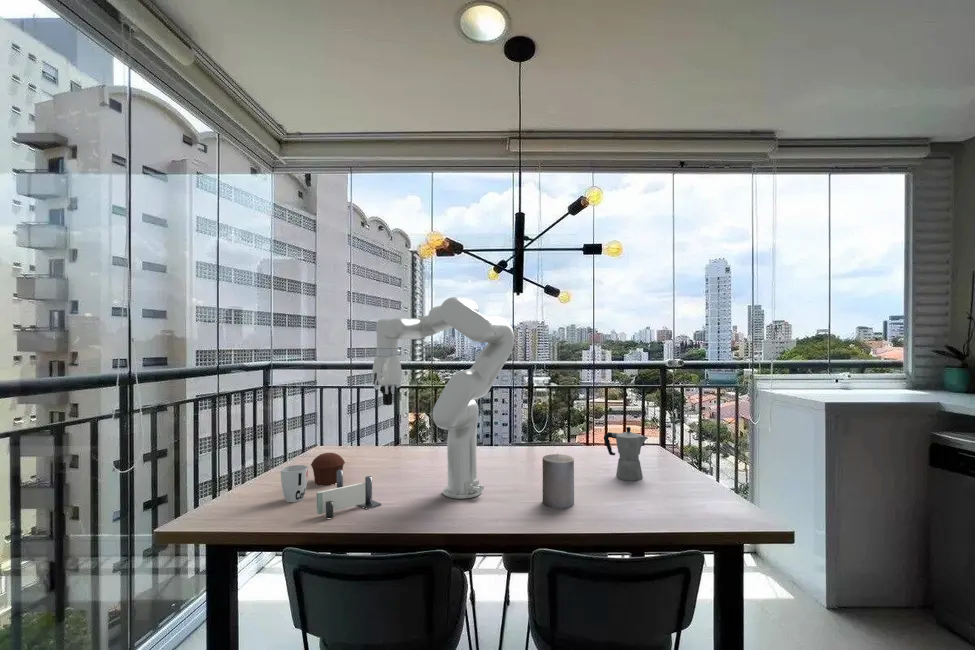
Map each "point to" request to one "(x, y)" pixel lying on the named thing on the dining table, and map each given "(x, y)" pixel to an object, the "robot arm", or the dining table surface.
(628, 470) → the coffeepot
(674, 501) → the dining table surface
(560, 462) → the pillar candle
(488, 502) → the dining table surface
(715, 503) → the dining table surface
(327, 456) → the muffin
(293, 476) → the cup
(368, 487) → the gate frame
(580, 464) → the dining table surface
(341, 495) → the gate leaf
